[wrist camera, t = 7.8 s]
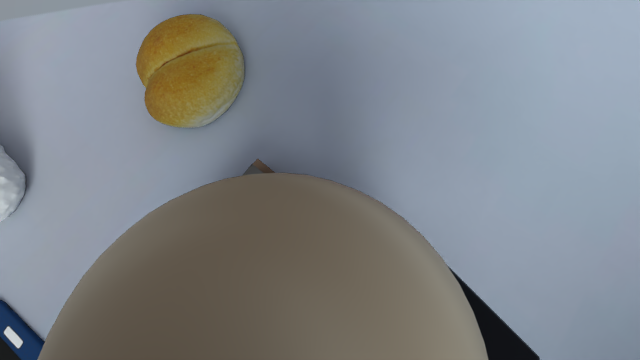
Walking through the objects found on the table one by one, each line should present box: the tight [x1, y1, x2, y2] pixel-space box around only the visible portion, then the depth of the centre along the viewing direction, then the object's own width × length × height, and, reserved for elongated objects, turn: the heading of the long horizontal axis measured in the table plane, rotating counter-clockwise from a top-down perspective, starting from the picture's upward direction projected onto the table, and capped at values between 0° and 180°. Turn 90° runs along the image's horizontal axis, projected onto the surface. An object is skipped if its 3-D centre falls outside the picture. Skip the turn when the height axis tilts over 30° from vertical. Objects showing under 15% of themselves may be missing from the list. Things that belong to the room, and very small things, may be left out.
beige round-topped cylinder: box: [37, 173, 488, 360], centre depth 9 cm, size 6×6×14 cm
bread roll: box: [136, 14, 245, 128], centre depth 27 cm, size 8×9×4 cm
